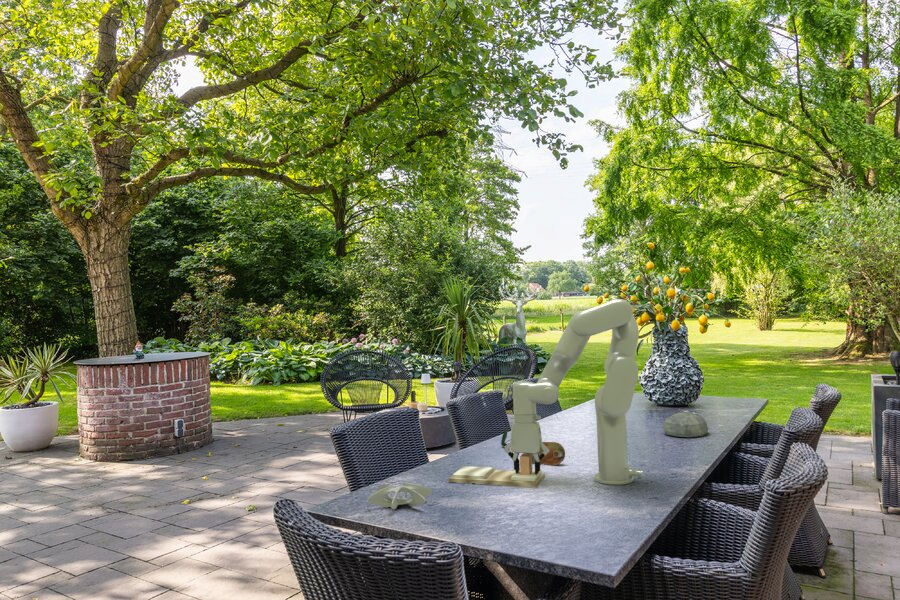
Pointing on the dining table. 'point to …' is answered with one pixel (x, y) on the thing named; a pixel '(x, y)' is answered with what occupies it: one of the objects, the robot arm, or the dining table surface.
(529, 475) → the stub
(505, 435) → the flower
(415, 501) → the sculpture
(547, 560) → the dining table surface
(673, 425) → the decorative stone
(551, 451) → the tin
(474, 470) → the ticket pad
